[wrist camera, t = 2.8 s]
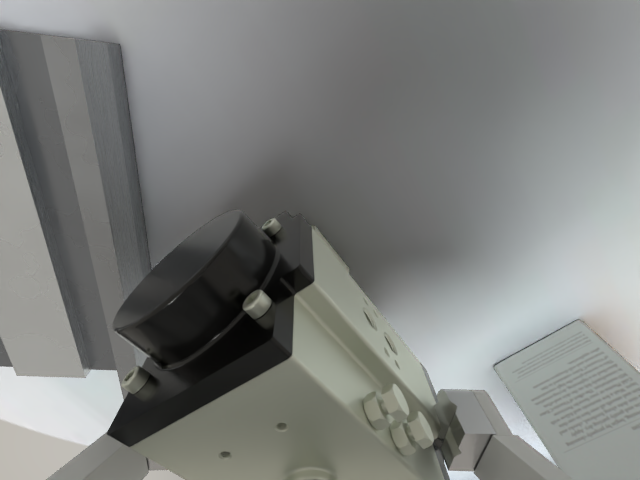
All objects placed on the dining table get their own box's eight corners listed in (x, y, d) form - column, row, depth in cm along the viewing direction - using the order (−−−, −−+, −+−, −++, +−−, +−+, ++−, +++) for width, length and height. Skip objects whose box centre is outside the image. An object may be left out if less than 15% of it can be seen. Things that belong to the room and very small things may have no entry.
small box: (618, 380, 24) (907, 664, 13) (536, 419, 26) (726, 703, 14) (580, 314, 21) (916, 614, 10) (490, 364, 23) (684, 671, 11)
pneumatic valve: (330, 344, 21) (359, 627, 11) (196, 202, 16) (1, 459, 6) (408, 301, 20) (530, 575, 9) (286, 134, 15) (247, 305, 4)
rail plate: (-202, 4, 12) (-343, -14, 9) (119, 44, 13) (74, 38, 11) (-32, 351, 20) (-83, 395, 17) (163, 358, 21) (143, 401, 18)
